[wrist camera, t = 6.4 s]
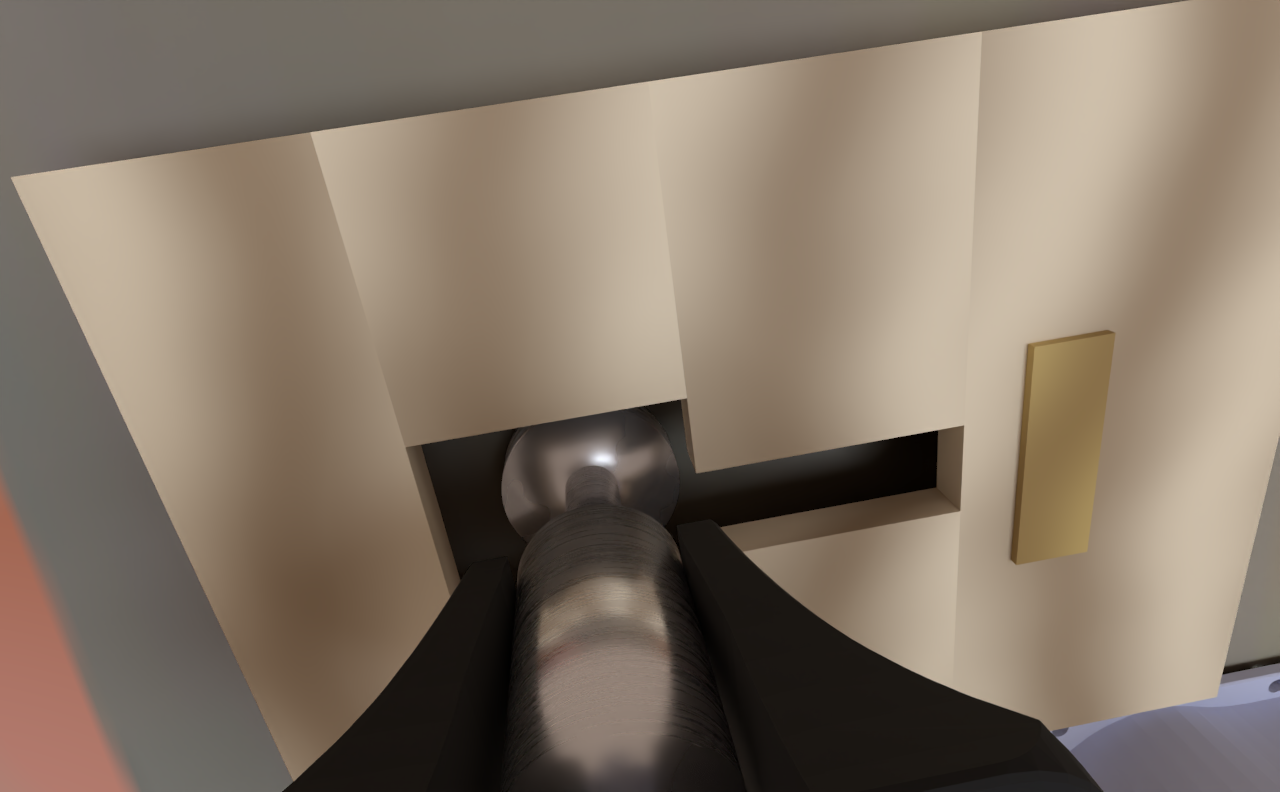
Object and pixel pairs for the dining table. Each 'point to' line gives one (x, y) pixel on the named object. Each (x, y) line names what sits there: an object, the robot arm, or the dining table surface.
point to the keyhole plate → (736, 343)
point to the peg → (606, 619)
